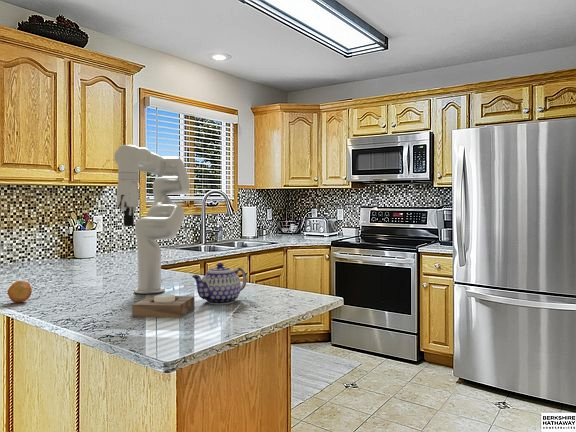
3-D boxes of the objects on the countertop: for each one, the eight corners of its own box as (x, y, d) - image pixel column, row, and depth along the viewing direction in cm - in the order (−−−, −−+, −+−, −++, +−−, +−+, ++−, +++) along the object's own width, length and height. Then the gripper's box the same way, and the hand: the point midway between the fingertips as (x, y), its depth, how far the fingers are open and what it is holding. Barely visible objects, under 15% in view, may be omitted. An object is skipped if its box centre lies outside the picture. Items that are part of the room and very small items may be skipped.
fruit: (5, 286, 178) (5, 283, 171) (28, 280, 182) (28, 277, 176) (10, 306, 177) (10, 304, 170) (33, 300, 181) (34, 297, 175)
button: (158, 304, 162) (158, 294, 162) (177, 304, 161) (177, 294, 161) (150, 308, 155) (150, 298, 155) (171, 308, 154) (171, 298, 154)
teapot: (235, 295, 190) (235, 258, 190) (258, 300, 178) (258, 261, 178) (181, 303, 173) (181, 263, 173) (203, 309, 161) (202, 267, 161)
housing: (151, 306, 167) (151, 295, 167) (194, 307, 165) (194, 296, 165) (132, 316, 151) (132, 304, 151) (179, 317, 149) (179, 305, 149)
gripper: (127, 179, 183) (127, 225, 183) (109, 176, 168) (110, 226, 168) (145, 179, 182) (146, 225, 183) (129, 176, 167) (129, 226, 168)
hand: (128, 225), depth 175 cm, fingers closed
